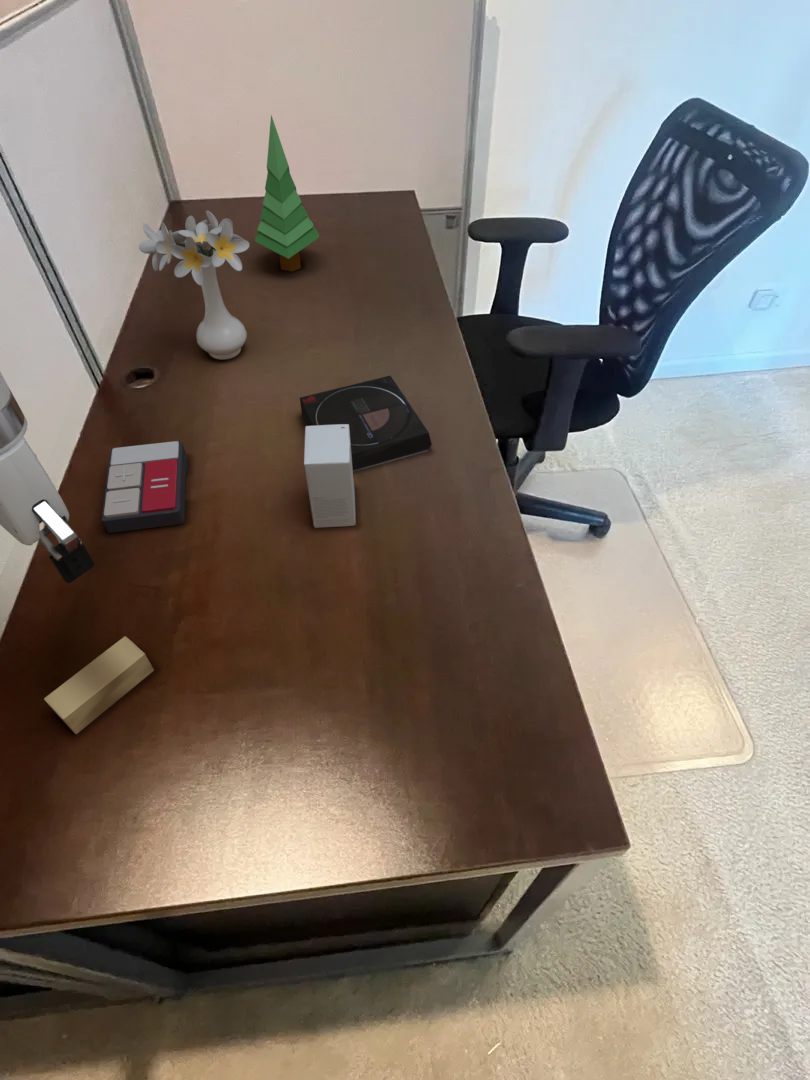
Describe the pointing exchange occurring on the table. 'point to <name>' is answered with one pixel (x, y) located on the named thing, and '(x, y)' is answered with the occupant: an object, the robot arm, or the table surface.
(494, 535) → the table surface
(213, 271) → the flower vase
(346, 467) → the small box
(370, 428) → the portable cd player
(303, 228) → the decorative tree
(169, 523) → the calculator
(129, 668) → the wood bar
